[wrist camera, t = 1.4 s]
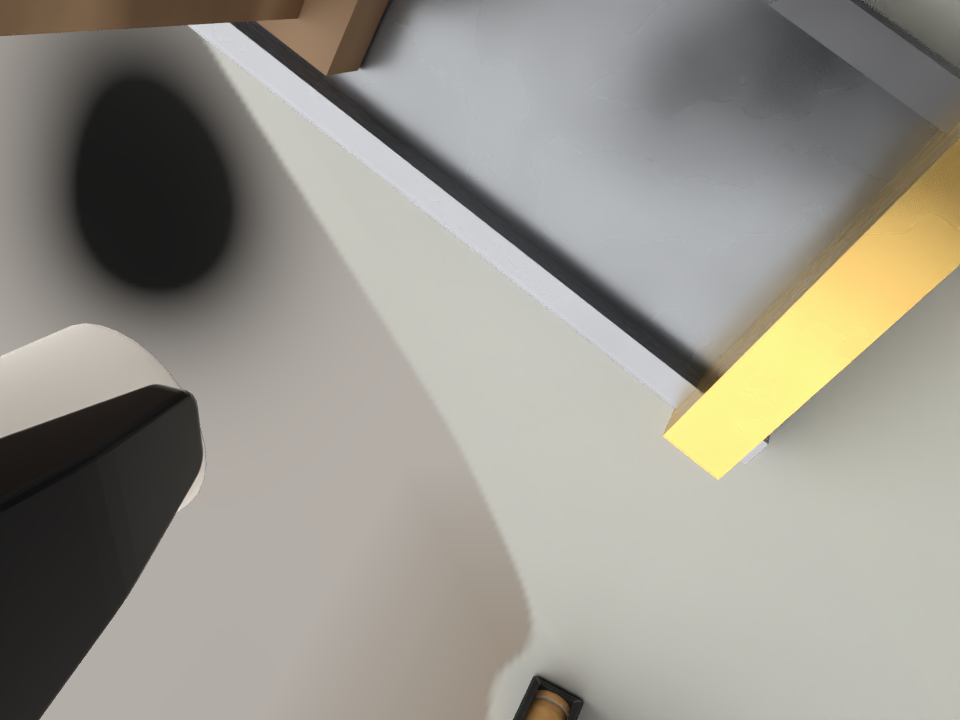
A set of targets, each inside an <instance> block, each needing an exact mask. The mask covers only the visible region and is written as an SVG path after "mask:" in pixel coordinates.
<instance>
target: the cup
mask: <svg viewBox="0 0 960 720" xmlns="http://www.w3.org/2000/svg"><path fill="white" fill-rule="evenodd" d="M152 384H162V385H166V386H170V387H174V388H178V389H181V388H180V386H179V385H178V383H177V382H176V381H175V380H174V378H173V377H172V375H171V374H170V373H169V371H168V370H167V369H166V368H165V367H164V366H163V365H162V364H161V363H160V362H159V361H158V360H157V359H156V358H155V357H154V356H153V355H152V354H151V353H150V352H148V351H147V350H146V349H145V348H144V347H142V346H141V345H140V344H139V343H137V342H136V341H134V340H133V339H131V338H129V337H128V336H126V335H124V334H122V333H121V332H119V331H116V330H114V329H111V328H108V327H105V326H103V325H96V324H89V323H84V324H77V325H72V326H69V327H67V328H65V329H62V330H60V331H58V332H55V333H53V334H51V335H48V336H46V337H44V338H41V339H39V340H37V341H35V342H32V343H30V344H27V345H25V346H23V347H21V348H18V349H16V350H14V351H11V352H9V353H7V354H4V355H2V356H0V438H1V437H4V436H7V435H10V434H13V433H15V432H18V431H21V430H24V429H27V428H30V427H32V426H35V425H38V424H41V423H44V422H47V421H49V420H52V419H55V418H58V417H61V416H63V415H66V414H69V413H72V412H75V411H78V410H80V409H83V408H86V407H89V406H92V405H95V404H97V403H100V402H103V401H106V400H109V399H111V398H114V397H117V396H120V395H123V394H126V393H128V392H131V391H134V390H137V389H140V388H142V387H145V386H148V385H152ZM200 430H201V428H200ZM201 438H202V446H203V461H202V465H201V468H200V471H199V473H198V476H197V478H196V479H195V481H194V483H193V485H192V486H191V488H190V490H189V491H188V493H187V495H186V497H185V498H184V500H183V502H182V504H181V505H180V507H179V509H178V511H179V510H181V509H182V508H183V507H185V506H186V505H187V504H188V503H190V502H191V501H192V500H193V499H194V497H195V496H196V495H197V494H198V493H199V491H200V488H201V486H202V483H203V481H204V478H205V470H206V452H205V444H204V440H203V436H202V432H201ZM178 511H177V512H178ZM177 512H176V513H177Z"/></svg>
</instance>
